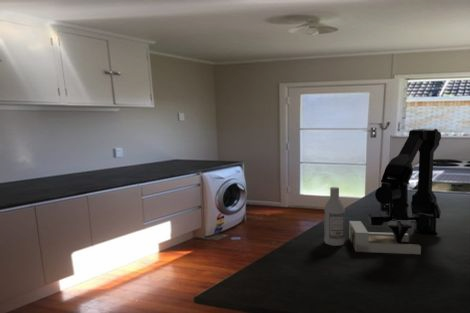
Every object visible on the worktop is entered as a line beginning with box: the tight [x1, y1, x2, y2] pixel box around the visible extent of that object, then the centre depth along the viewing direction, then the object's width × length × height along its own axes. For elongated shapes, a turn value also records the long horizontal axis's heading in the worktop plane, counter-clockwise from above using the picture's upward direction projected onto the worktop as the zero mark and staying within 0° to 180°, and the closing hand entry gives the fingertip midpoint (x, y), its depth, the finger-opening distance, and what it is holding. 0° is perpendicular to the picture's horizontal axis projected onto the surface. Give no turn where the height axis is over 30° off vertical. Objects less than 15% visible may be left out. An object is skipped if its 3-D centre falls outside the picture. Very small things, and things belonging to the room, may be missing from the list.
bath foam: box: [323, 186, 346, 247], centre depth 123 cm, size 7×7×20 cm
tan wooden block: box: [354, 235, 398, 244], centre depth 120 cm, size 13×8×3 cm, turn 80°
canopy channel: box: [348, 220, 422, 255], centre depth 120 cm, size 20×14×6 cm
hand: (398, 244), depth 119 cm, fingers closed
